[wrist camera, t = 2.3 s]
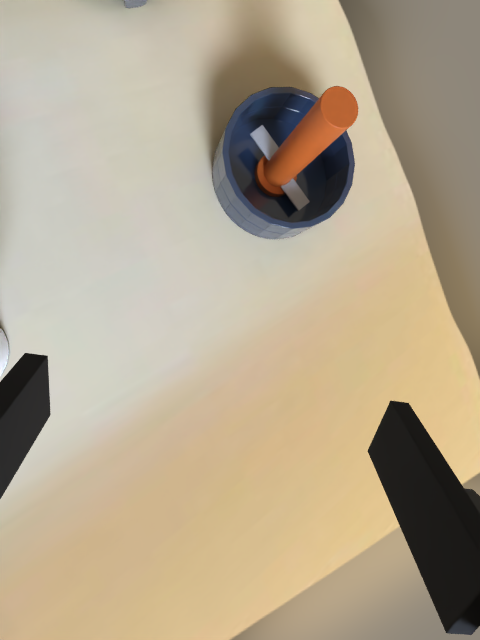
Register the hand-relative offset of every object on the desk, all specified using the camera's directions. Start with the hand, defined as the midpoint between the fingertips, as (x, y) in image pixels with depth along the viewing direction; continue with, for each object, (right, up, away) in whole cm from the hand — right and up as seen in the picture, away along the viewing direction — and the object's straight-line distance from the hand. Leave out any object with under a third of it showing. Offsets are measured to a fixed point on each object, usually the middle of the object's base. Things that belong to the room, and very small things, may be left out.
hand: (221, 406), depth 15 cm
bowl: (+4, +19, +27) cm, 33 cm away
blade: (+4, +19, +26) cm, 32 cm away
